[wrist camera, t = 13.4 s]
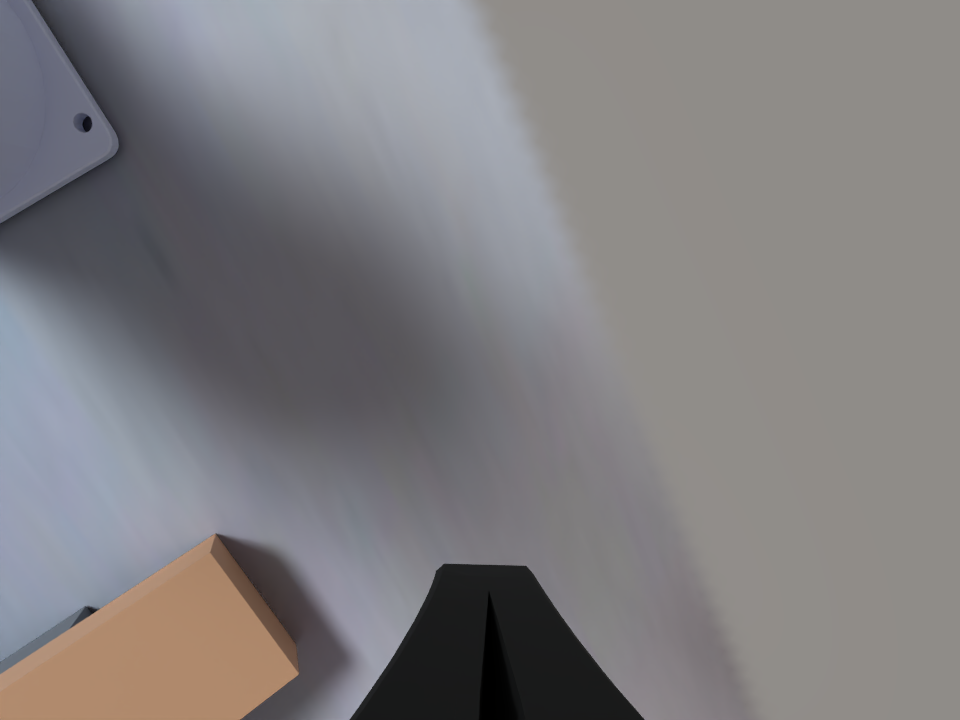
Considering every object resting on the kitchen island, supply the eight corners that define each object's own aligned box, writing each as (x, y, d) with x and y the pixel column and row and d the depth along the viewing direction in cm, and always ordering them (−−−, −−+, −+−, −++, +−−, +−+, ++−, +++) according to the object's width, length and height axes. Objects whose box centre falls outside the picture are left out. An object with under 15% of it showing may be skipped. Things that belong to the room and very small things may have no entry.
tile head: (215, 533, 19) (-2, 675, 17) (210, 552, 17) (-35, 714, 15) (296, 644, 20) (100, 791, 18) (298, 674, 18) (80, 842, 16)
